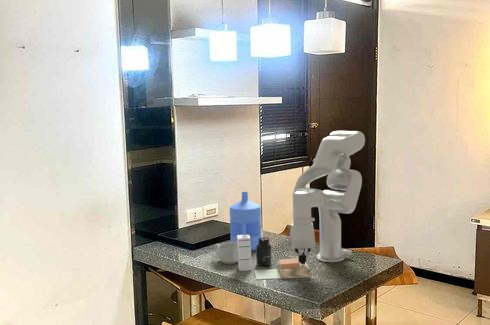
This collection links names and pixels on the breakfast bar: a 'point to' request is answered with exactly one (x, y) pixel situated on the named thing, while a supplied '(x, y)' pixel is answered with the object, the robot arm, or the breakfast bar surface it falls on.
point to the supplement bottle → (263, 252)
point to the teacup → (227, 252)
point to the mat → (269, 274)
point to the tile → (289, 263)
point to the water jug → (246, 220)
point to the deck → (294, 271)
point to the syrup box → (244, 252)
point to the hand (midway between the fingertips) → (302, 263)
